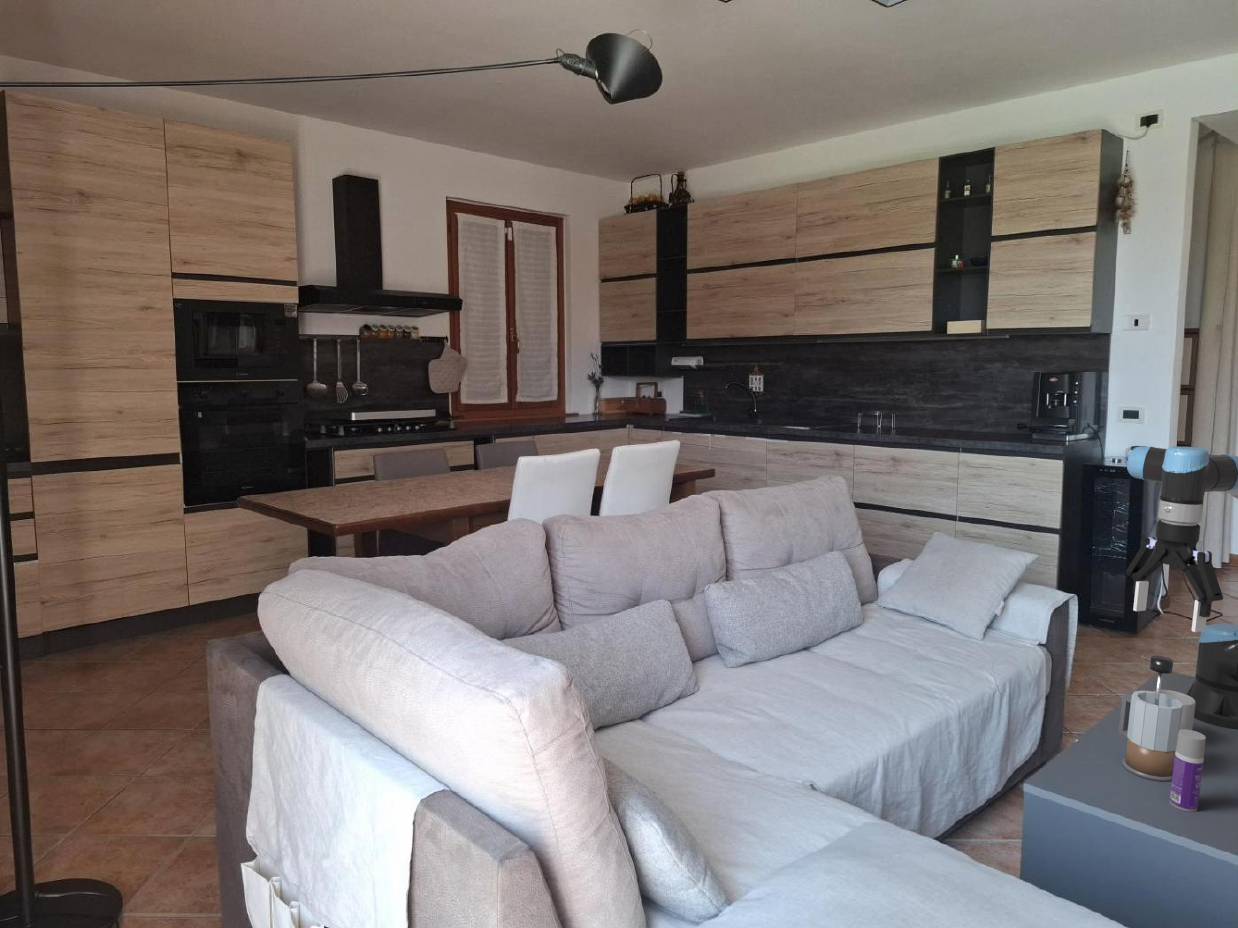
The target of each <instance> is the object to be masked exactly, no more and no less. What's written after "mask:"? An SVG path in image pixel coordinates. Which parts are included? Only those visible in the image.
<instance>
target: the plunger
mask: <svg viewBox="0 0 1238 928" xmlns="http://www.w3.org/2000/svg"><path fill="white" fill-rule="evenodd" d="M1149 662H1150V663H1149V669H1150V670H1151V671H1153V672H1156V673H1157V679H1156V688H1155V690H1156V695H1155V703H1154V705H1158V706H1159V699H1160V691H1161V690H1162V682H1163V680H1162V679H1163V674H1165V675H1166V674H1167V675H1168V674H1172V673H1173V667H1174V660H1173V659H1171V658H1169V657H1167V656H1162V655H1151V656H1150V661H1149Z"/></svg>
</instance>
